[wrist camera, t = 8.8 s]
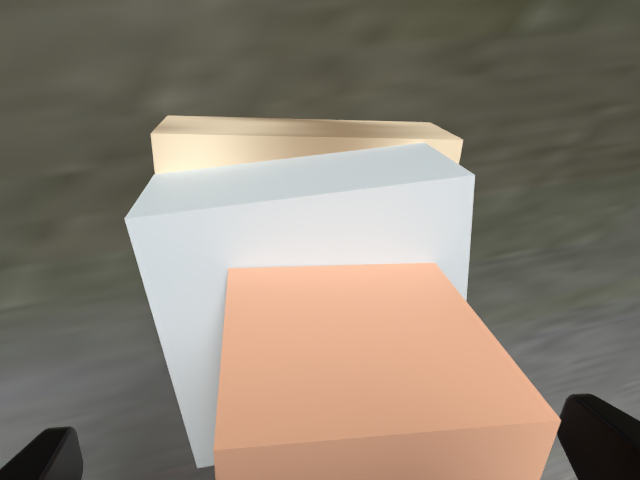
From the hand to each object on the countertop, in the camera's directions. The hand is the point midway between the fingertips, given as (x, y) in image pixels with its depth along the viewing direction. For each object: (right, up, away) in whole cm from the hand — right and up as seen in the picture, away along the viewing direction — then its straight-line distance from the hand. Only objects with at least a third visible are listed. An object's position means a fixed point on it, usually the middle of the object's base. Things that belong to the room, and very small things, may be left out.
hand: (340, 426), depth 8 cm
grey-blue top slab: (-1, +2, +5) cm, 6 cm away
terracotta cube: (0, +1, +2) cm, 3 cm away
